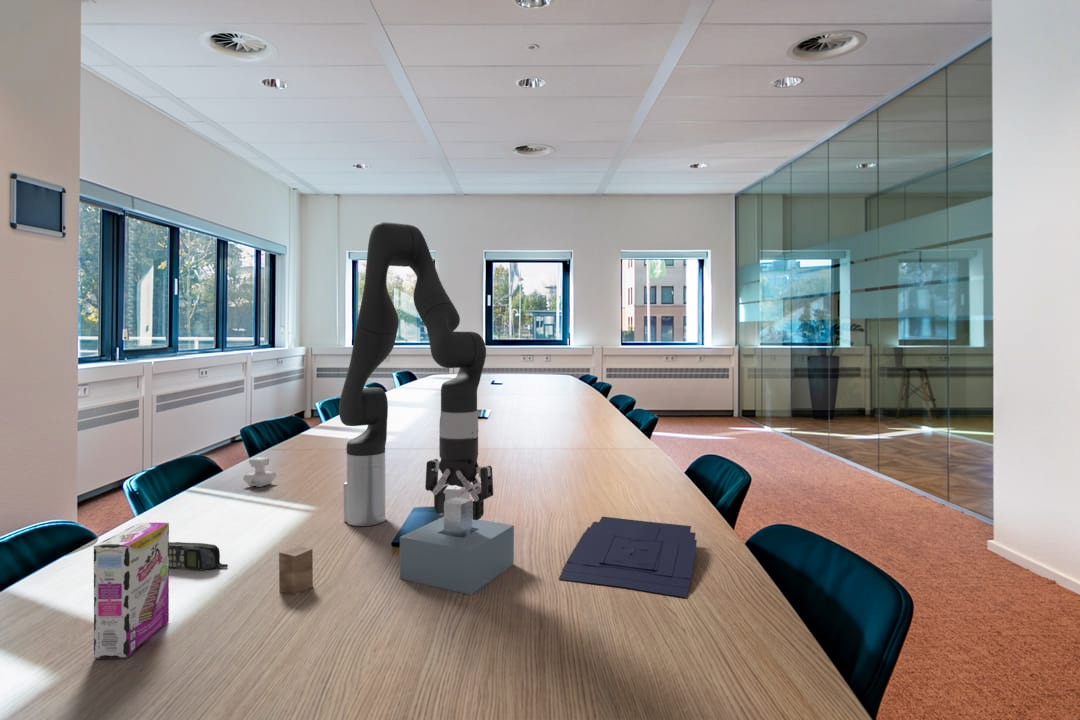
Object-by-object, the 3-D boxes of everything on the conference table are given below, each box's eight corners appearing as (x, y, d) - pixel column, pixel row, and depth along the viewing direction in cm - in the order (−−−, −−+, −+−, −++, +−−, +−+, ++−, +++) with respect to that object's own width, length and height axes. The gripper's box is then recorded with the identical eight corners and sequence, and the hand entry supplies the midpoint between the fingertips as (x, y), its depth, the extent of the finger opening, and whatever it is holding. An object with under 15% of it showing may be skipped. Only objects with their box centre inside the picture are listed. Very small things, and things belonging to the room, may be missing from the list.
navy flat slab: (699, 538, 133) (699, 523, 133) (687, 612, 105) (687, 593, 105) (594, 526, 141) (594, 511, 141) (557, 592, 113) (556, 574, 113)
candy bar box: (129, 659, 84) (127, 545, 83) (92, 660, 84) (90, 546, 83) (172, 621, 95) (170, 520, 95) (139, 622, 95) (137, 521, 94)
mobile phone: (147, 545, 116) (219, 546, 115) (159, 540, 119) (229, 541, 118) (148, 570, 117) (220, 572, 115) (160, 564, 120) (230, 566, 118)
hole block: (399, 578, 113) (399, 536, 112) (448, 551, 127) (448, 514, 127) (471, 594, 106) (471, 550, 105) (513, 564, 120) (513, 525, 120)
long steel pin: (443, 572, 116) (443, 501, 115) (455, 565, 119) (455, 497, 119) (460, 576, 114) (460, 504, 113) (472, 569, 117) (472, 499, 117)
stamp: (259, 490, 176) (259, 461, 176) (240, 488, 178) (239, 460, 177) (279, 482, 185) (279, 456, 184) (260, 481, 186) (260, 454, 186)
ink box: (451, 527, 143) (451, 479, 143) (470, 529, 142) (471, 480, 142) (437, 539, 135) (437, 488, 134) (458, 541, 134) (459, 489, 133)
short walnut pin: (279, 590, 107) (278, 552, 107) (297, 582, 111) (296, 545, 110) (295, 594, 105) (294, 556, 105) (312, 586, 109) (312, 548, 109)
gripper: (417, 433, 115) (417, 516, 116) (480, 439, 109) (479, 526, 110) (440, 428, 122) (439, 506, 122) (500, 434, 116) (499, 515, 116)
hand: (458, 515), depth 116 cm, fingers open, 8 cm apart
